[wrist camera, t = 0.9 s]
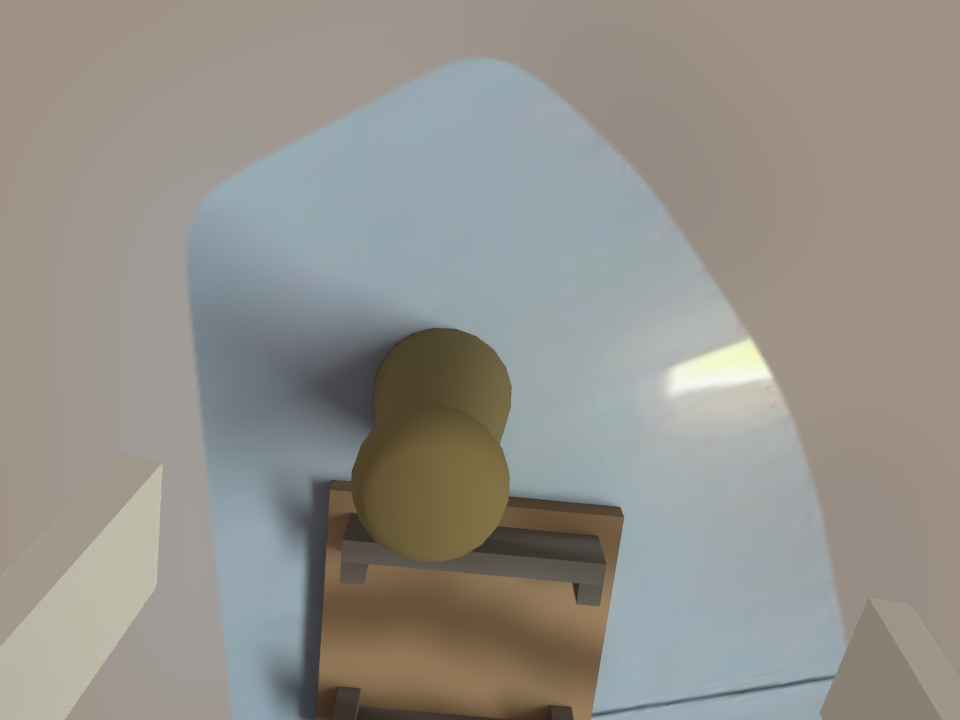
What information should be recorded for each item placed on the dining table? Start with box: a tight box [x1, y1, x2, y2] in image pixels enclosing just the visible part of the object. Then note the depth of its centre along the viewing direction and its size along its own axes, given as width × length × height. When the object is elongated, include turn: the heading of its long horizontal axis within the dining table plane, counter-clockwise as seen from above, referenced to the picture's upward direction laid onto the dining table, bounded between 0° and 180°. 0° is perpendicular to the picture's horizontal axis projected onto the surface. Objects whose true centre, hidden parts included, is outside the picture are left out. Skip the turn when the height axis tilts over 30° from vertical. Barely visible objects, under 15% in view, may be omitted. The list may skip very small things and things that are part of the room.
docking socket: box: [316, 480, 624, 720], centre depth 38 cm, size 13×13×4 cm
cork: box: [352, 328, 512, 562], centre depth 31 cm, size 6×6×11 cm
